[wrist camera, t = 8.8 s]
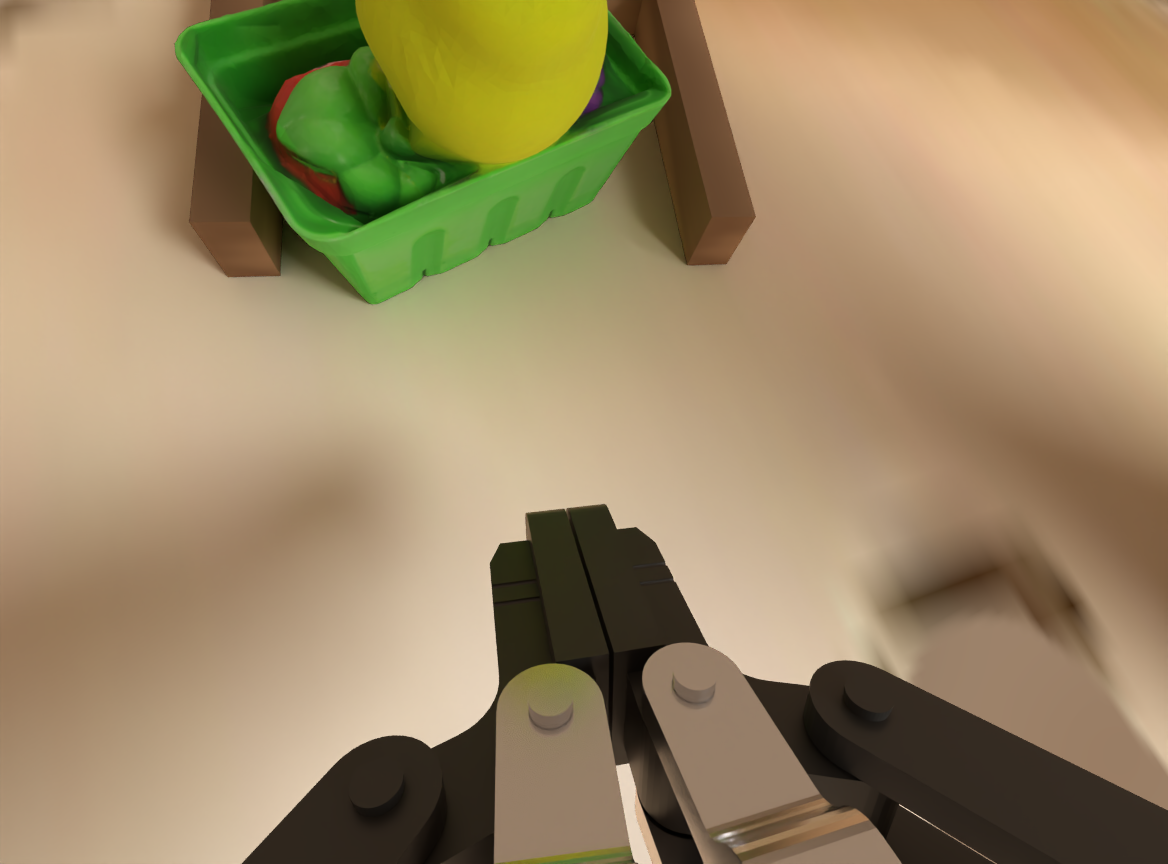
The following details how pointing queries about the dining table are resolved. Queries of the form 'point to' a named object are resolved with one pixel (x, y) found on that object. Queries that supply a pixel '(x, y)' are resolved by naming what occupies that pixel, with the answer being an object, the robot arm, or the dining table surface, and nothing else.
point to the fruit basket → (424, 120)
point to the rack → (684, 124)
